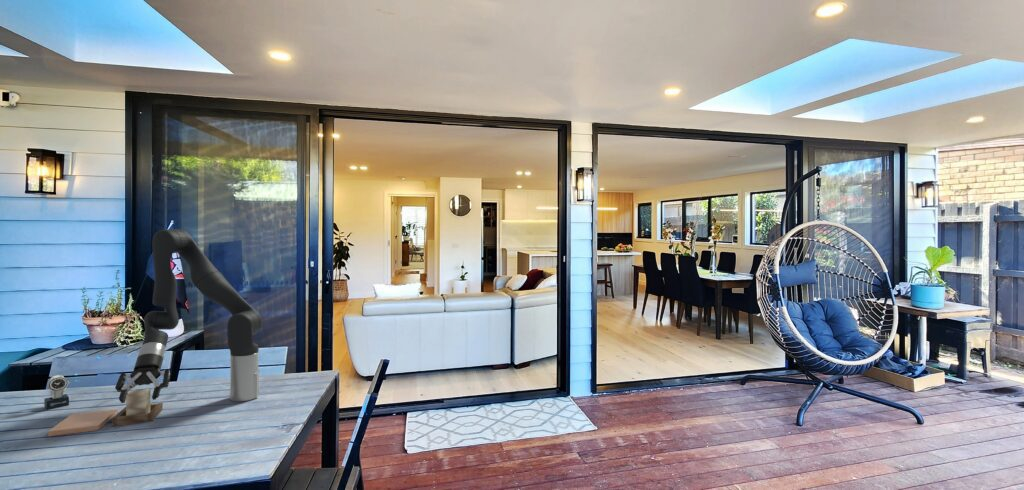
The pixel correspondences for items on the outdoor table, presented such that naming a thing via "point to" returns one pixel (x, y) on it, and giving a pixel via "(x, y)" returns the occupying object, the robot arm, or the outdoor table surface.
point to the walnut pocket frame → (137, 416)
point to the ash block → (138, 402)
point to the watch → (57, 393)
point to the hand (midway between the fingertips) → (138, 400)
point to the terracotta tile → (83, 422)
